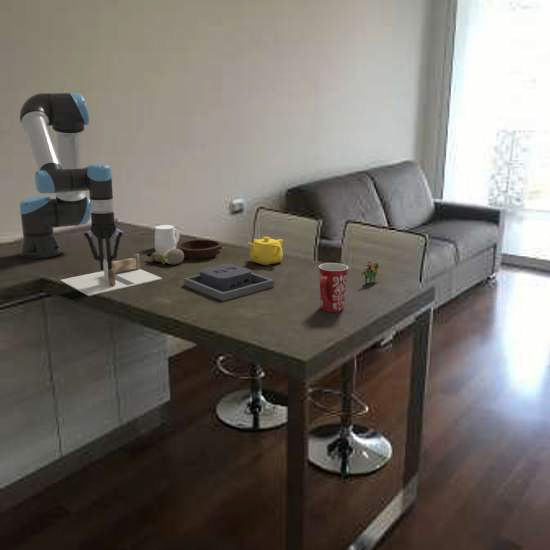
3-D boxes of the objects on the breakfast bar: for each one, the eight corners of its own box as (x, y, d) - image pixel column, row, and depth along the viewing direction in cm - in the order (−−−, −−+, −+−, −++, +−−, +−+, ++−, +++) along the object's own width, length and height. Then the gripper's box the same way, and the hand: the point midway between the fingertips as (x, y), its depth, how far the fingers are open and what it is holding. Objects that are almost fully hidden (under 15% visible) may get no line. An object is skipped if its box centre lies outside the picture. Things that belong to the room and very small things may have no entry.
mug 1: (161, 230, 250) (149, 227, 255) (162, 252, 252) (150, 248, 258) (184, 225, 258) (172, 222, 263) (184, 246, 261) (173, 243, 266)
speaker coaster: (184, 285, 210) (183, 278, 209) (234, 273, 224) (233, 266, 223) (222, 301, 194) (222, 293, 194) (273, 287, 208) (273, 280, 208)
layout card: (60, 280, 214) (60, 279, 214) (131, 266, 232) (131, 264, 232) (88, 296, 198) (88, 294, 198) (162, 279, 216) (162, 277, 216)
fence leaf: (107, 275, 218) (106, 261, 217) (112, 274, 219) (111, 260, 217) (110, 285, 206) (109, 271, 205) (115, 285, 207) (114, 270, 205)
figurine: (381, 280, 216) (382, 258, 214) (363, 288, 208) (365, 265, 205) (373, 278, 218) (375, 256, 216) (356, 286, 209) (357, 264, 207)
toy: (144, 264, 238) (173, 266, 230) (143, 249, 237) (172, 251, 229) (161, 259, 246) (190, 262, 238) (160, 245, 245) (189, 247, 237)
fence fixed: (109, 276, 219) (108, 259, 217) (107, 275, 220) (105, 258, 218) (140, 270, 227) (139, 253, 225) (138, 269, 228) (137, 252, 227)
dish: (234, 255, 249) (234, 243, 247) (189, 265, 235) (189, 252, 233) (209, 247, 261) (208, 236, 260) (165, 256, 247) (164, 244, 245)
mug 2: (325, 301, 195) (326, 261, 191) (351, 306, 190) (353, 265, 186) (306, 313, 184) (307, 270, 180) (333, 318, 180) (335, 275, 176)
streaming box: (228, 276, 221) (228, 262, 220) (254, 285, 211) (254, 271, 210) (196, 284, 212) (196, 270, 210) (222, 294, 202) (222, 279, 200)
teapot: (280, 268, 230) (280, 242, 227) (247, 267, 232) (246, 241, 229) (284, 258, 243) (284, 234, 240) (252, 257, 245) (252, 232, 242)
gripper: (80, 213, 198) (86, 282, 205) (121, 213, 200) (125, 281, 207) (83, 209, 205) (89, 276, 212) (123, 209, 207) (127, 275, 214)
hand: (107, 278), depth 209 cm, fingers closed
